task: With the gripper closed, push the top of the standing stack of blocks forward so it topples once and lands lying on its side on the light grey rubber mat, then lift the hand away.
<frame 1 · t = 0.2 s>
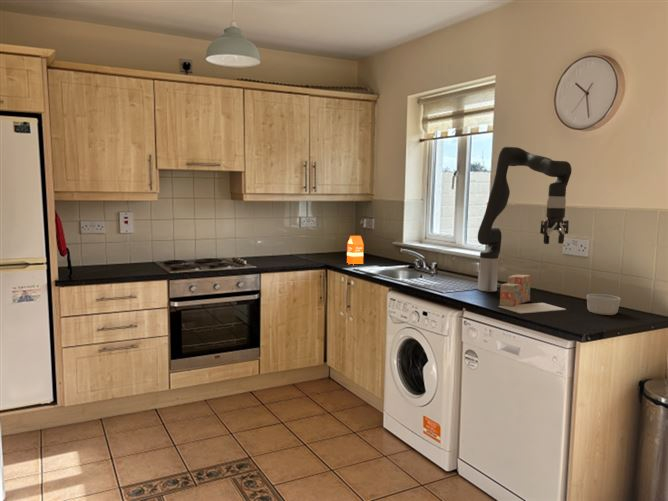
hand: (553, 243, 234), 29 cm above the worktop, fingers open, 8 cm apart
ramekin: (602, 312, 230), on the worktop
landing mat: (532, 308, 234), on the worktop
stack of blocks: (515, 303, 245), on the worktop, touching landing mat
orange juice: (354, 264, 371), on the worktop
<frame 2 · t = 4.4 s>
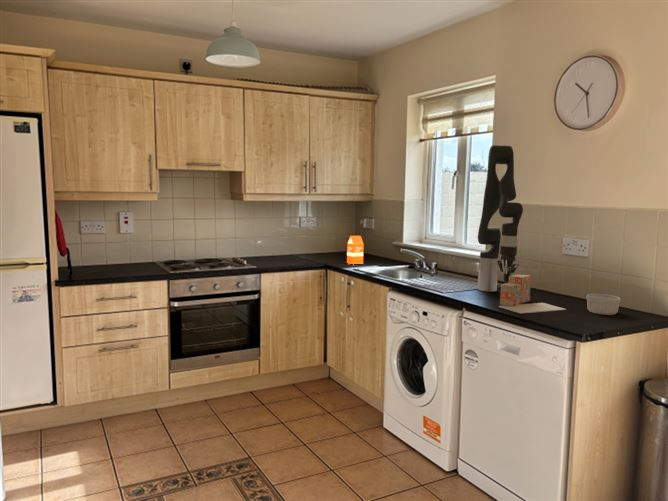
hand: (506, 281, 250), 9 cm above the worktop, fingers closed
stack of blocks: (515, 303, 245), on the worktop, touching gripper, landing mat
everything else where it was.
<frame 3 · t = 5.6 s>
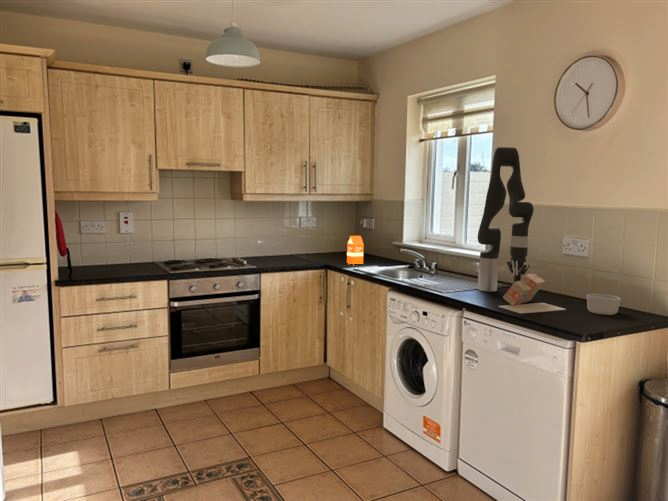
hand: (517, 283, 243), 9 cm above the worktop, fingers closed
stack of blocks: (516, 299, 244), point 2 cm above the worktop, touching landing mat
everything else where it was.
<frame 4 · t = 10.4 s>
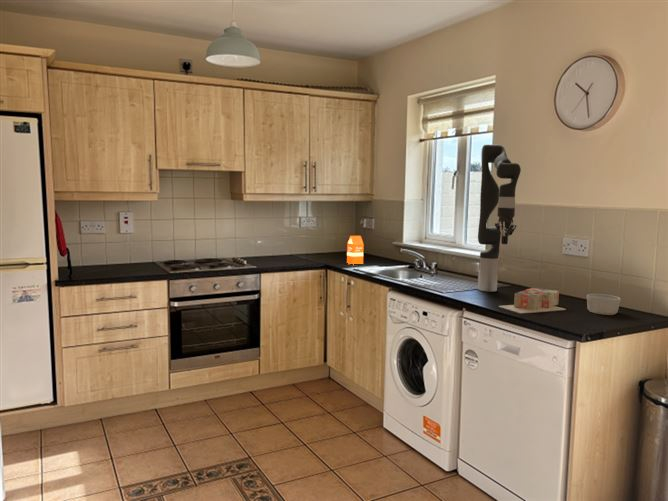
hand: (504, 244, 246), 27 cm above the worktop, fingers closed
stack of blocks: (523, 296, 242), point 4 cm above the worktop, touching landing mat
everything else where it was.
at the end: stack of blocks tilted 90°; stack of blocks touching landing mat; stack of blocks inside the target area (2.9 cm from its centre), point 3.5 cm above the worktop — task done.
